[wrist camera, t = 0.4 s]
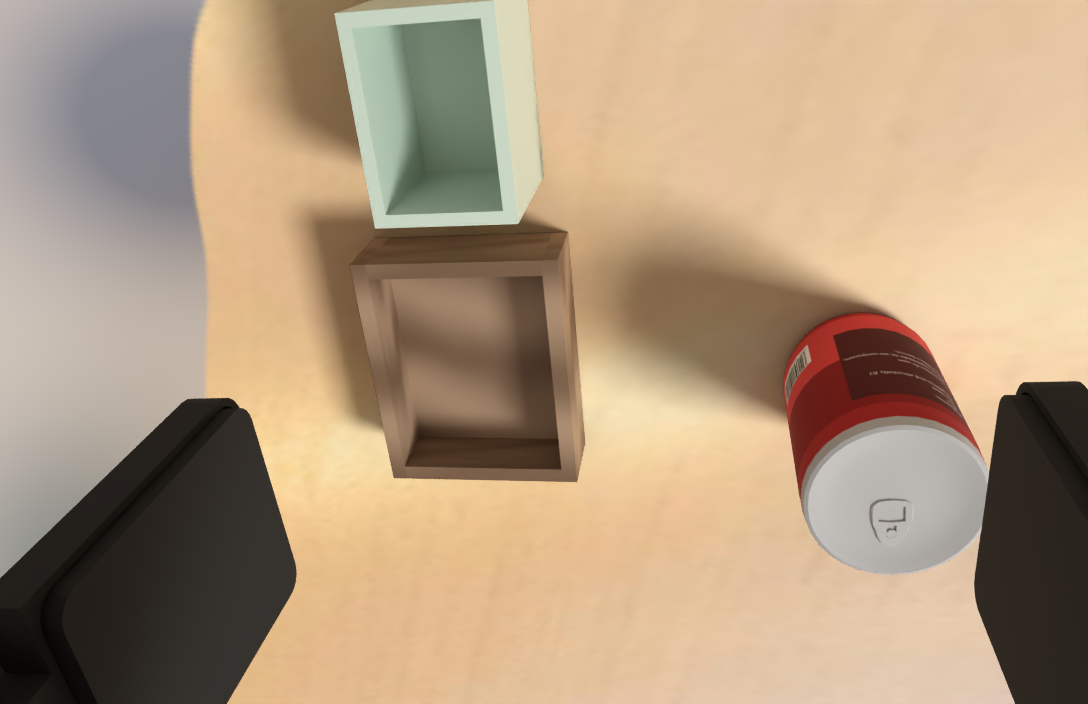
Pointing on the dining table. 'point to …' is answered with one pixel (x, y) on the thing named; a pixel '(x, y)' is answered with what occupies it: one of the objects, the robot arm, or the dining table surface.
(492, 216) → the small crate
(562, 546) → the dining table surface
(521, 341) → the large crate
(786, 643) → the dining table surface
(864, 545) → the canned food
